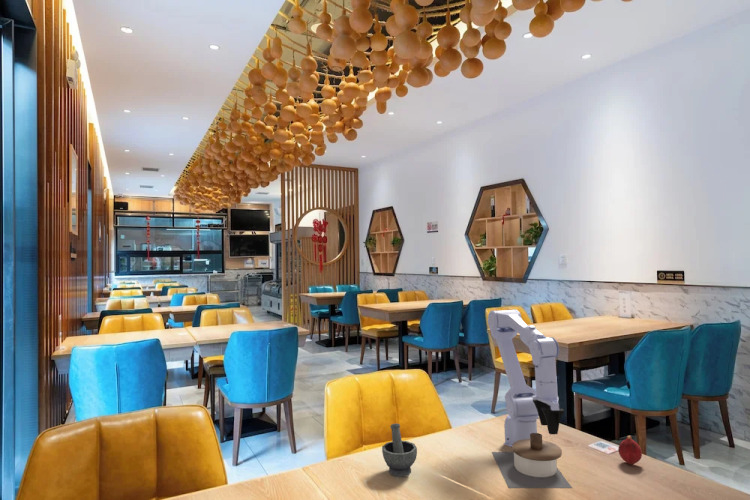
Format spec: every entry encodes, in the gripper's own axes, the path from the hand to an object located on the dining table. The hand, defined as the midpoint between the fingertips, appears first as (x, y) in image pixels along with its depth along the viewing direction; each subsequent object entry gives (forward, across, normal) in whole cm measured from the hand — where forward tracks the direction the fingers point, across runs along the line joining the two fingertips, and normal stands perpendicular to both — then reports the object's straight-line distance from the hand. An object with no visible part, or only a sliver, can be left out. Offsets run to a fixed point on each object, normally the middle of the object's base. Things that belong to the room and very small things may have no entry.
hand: (549, 429), depth 128 cm
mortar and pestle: (+10, +3, -43) cm, 44 cm away
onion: (+11, -2, +22) cm, 25 cm away
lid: (+5, +2, -4) cm, 7 cm away
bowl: (+10, +2, -5) cm, 11 cm away
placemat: (+10, +2, -7) cm, 13 cm away
